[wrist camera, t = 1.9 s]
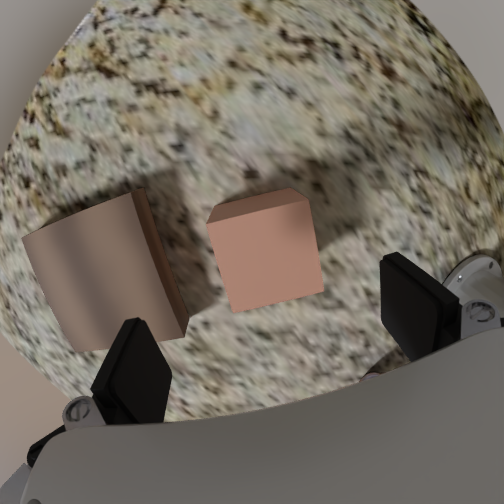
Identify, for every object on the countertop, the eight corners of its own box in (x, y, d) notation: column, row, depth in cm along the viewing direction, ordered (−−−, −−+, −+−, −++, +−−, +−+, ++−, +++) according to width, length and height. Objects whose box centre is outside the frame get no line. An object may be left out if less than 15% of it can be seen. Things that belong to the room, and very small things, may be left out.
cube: (290, 187, 22) (308, 199, 16) (304, 258, 24) (324, 291, 18) (214, 205, 22) (205, 224, 16) (234, 275, 24) (233, 313, 18)
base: (143, 187, 21) (130, 192, 18) (189, 317, 25) (184, 337, 22) (39, 228, 21) (21, 238, 19) (87, 335, 25) (75, 352, 23)
